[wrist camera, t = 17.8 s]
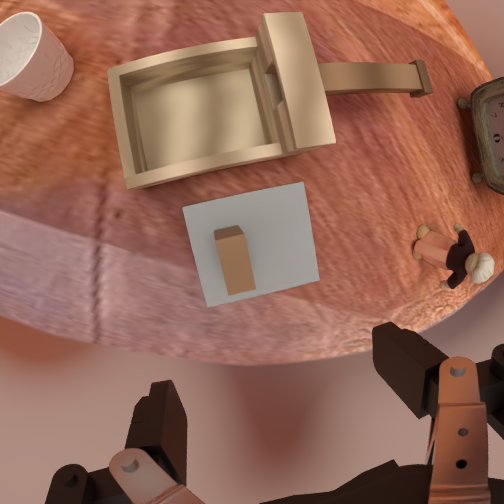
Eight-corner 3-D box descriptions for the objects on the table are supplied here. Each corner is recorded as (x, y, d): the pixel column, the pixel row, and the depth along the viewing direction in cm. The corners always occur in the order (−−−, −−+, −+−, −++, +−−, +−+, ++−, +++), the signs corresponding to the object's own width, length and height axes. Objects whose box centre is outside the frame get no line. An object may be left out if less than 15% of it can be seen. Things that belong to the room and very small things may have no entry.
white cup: (90, 73, 27) (54, 39, 18) (39, 120, 27) (-10, 104, 18) (62, 34, 25) (26, -2, 16) (15, 79, 26) (-31, 57, 16)
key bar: (304, 103, 24) (313, 95, 21) (295, 68, 23) (304, 58, 21) (418, 97, 25) (432, 92, 22) (410, 67, 24) (423, 60, 22)
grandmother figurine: (412, 216, 36) (485, 232, 23) (434, 217, 36) (506, 233, 24) (406, 276, 37) (472, 310, 25) (428, 274, 38) (494, 306, 26)
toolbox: (143, 188, 31) (111, 190, 20) (125, 90, 28) (90, 51, 17) (294, 155, 32) (336, 142, 21) (272, 60, 30) (301, 11, 19)
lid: (207, 304, 35) (207, 332, 28) (183, 206, 32) (176, 212, 26) (316, 277, 36) (340, 298, 29) (300, 181, 34) (323, 181, 27)
